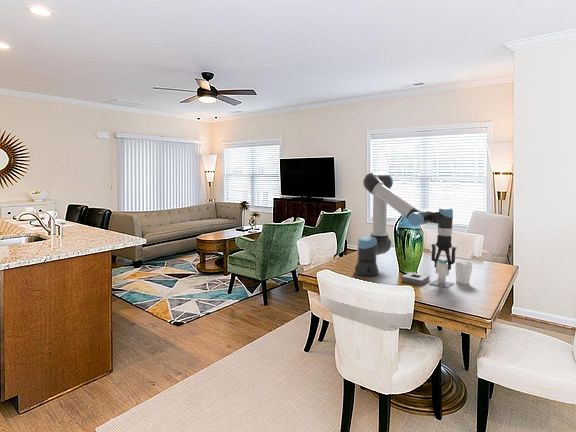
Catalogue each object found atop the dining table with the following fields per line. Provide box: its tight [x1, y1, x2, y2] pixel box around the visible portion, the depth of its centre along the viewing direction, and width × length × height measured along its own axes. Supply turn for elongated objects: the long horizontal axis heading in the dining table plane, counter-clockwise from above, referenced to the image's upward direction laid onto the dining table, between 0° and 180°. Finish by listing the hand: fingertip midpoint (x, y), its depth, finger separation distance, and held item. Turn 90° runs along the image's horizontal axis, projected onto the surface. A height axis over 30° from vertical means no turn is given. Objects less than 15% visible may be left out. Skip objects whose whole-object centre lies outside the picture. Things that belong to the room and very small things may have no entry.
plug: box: [437, 258, 448, 284], centre depth 211 cm, size 5×5×14 cm
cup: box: [454, 260, 473, 285], centre depth 215 cm, size 9×9×12 cm
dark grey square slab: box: [401, 271, 430, 286], centre depth 218 cm, size 12×12×3 cm
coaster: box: [429, 279, 454, 289], centre depth 212 cm, size 10×10×1 cm
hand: (442, 273), depth 211 cm, fingers open, 5 cm apart
